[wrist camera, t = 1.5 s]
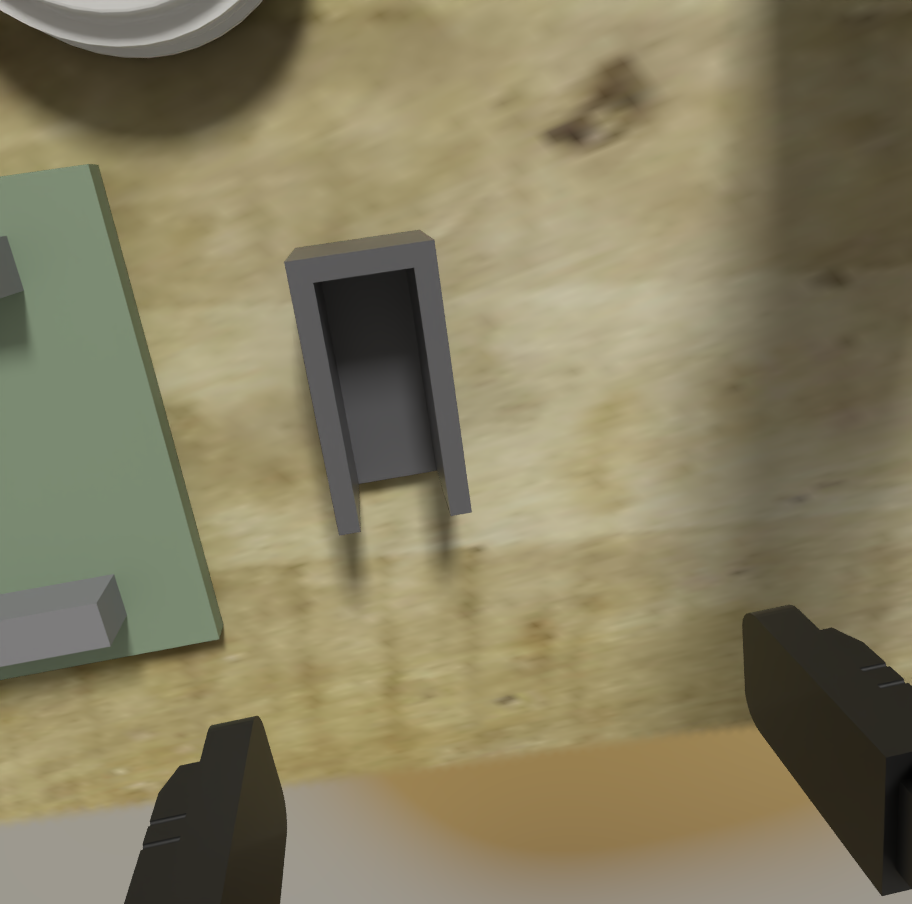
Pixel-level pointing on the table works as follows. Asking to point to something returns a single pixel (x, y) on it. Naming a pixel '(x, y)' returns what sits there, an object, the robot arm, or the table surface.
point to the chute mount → (85, 446)
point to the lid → (132, 23)
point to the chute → (378, 365)
